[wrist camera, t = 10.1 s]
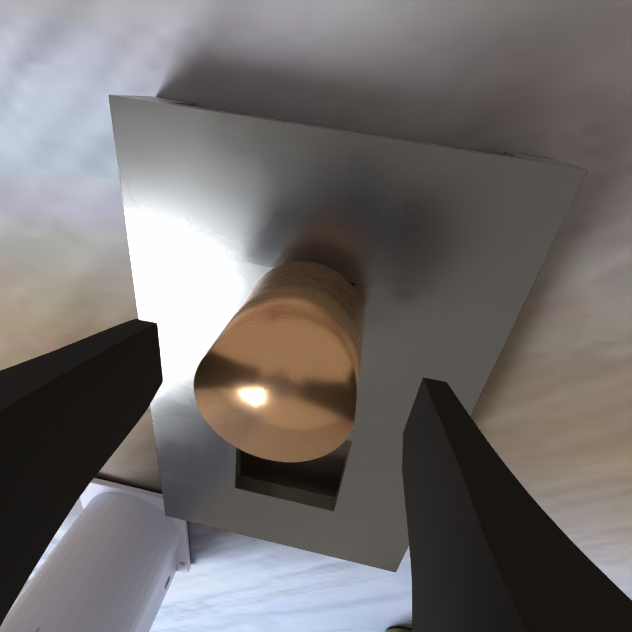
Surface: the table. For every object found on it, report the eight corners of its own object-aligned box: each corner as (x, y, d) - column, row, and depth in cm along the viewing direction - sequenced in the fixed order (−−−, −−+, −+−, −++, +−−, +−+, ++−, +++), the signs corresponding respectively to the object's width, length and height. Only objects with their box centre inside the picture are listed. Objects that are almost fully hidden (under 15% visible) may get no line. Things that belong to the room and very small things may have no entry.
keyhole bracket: (394, 528, 24) (395, 572, 21) (185, 478, 25) (165, 515, 22) (550, 158, 12) (587, 170, 10) (154, 96, 13) (108, 94, 11)
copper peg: (366, 325, 17) (352, 480, 10) (271, 312, 17) (195, 450, 10) (381, 230, 14) (376, 344, 8) (272, 218, 15) (174, 314, 8)
